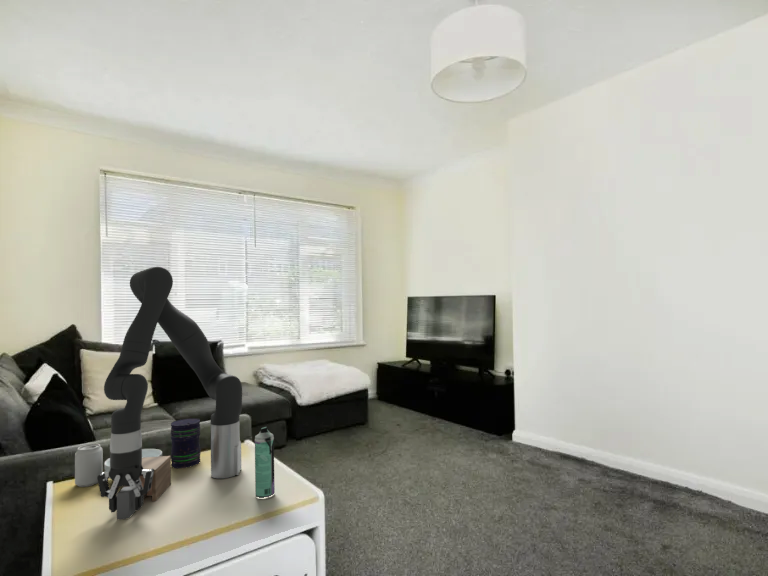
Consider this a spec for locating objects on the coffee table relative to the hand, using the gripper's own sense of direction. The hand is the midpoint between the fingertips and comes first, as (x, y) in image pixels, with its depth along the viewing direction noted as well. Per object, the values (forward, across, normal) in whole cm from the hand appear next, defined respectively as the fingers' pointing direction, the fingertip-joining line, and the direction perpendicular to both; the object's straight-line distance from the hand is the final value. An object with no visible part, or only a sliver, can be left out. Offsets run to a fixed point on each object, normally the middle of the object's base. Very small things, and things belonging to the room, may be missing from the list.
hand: (126, 509), depth 118 cm
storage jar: (+2, -3, -39) cm, 39 cm away
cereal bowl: (+2, +10, -28) cm, 30 cm away
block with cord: (+2, 0, -8) cm, 8 cm away
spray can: (+2, -36, -6) cm, 37 cm away
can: (+2, +23, -26) cm, 35 cm away
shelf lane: (+1, 0, -14) cm, 14 cm away
